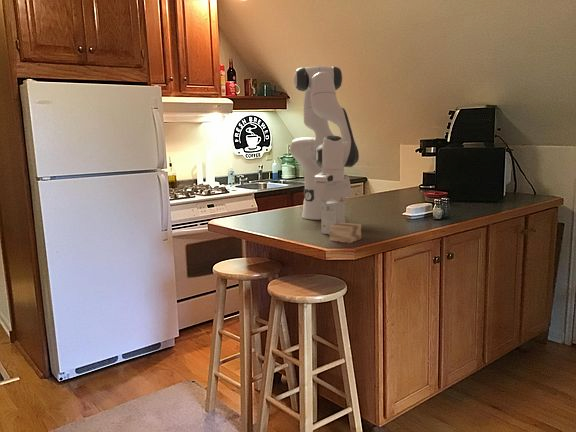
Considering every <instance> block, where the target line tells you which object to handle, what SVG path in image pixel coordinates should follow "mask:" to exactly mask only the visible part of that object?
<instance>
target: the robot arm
mask: <svg viewBox="0 0 576 432" xmlns="http://www.w3.org/2000/svg"><path fill="white" fill-rule="evenodd" d="M343 77H344V76H343V73H342V70H341V68H340V67H337V66H327V65H318V66H317V65H315V66H307V67H306V66H305V67H304V66H303V67H298V68H297V69H296V70H295V72H294V75H293V83H294V86H295V88H296V90H298V91H299V92H300V91H301V92H304V94H303V124H304V126H306V127H307V129H310V130H312V131H313V133H314V134H315V136H301V137H297V138H294V139H293V140H292V141H291V142H290V146H289V152H290V155H291V157H293V159H295V160H296V161H297V162H298V163H299V165H300V166H301V169H302V171H303V179H304V188H303V196H304V199H303V204H302V205H303V206H302V213H301V218H302V219H305V220H321V203H322V206H323V211H328V210H329V209H328V208H329V206H327V204H326V203H327V202H329V201H333V202H337V199H338V200H339V201H338V202H343V203H345V200H346V197H351V194H352V186H351V181H350V176H348V174H345V167H346V168H352V167H354V166H355V165H356V164H357V163H358V161H359V159H360V155H359V154H360V153H359V149H358V146H357V144H356V142H355V138H354V135H353V134H354V133H353V131H352V128H351V127H352V126H351V123H350V119H349V116H348V114H347V110H346V109H345V108H344V107H342V106H341V105H340V103H339V102H338V100H337V99H338V98H337V90H339V89H340V88H341V87H342V83H343ZM329 122H331V123H333V124H335V125H337V127H338V128H339V131H340V134H341V135H340V136H338V135H335V134H334V132H332V130H331V128H330V126H329ZM335 199H336V200H335Z"/></svg>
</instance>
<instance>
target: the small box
mask: <svg viewBox="0 0 576 432" xmlns="http://www.w3.org/2000/svg"><path fill="white" fill-rule="evenodd" d="M326 204H327V206H329V208H328V209H329V210H328V211H323V206H322V203H321V219H320V220H321V221H320V225H321V230H320V232H321V234H324V235H330V226H331V225H334V224H337V223H341V222H345V223H346V202H344V203H343V202H339V201H336V202H333V201H329V202H327V203H326Z"/></svg>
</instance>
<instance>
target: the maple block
mask: <svg viewBox="0 0 576 432" xmlns="http://www.w3.org/2000/svg"><path fill="white" fill-rule="evenodd" d="M361 239H362V224H360V223H351V222H346V221H345V222H341V223H337V224H334V225H331V226H330V234H329V241H331V242H338V241H339V242H341V243H345V242H347V243H348V244H351V243H354V242H356V241H359V240H361ZM353 241H354V242H353ZM339 242H338V243H339ZM347 243H346V244H347Z"/></svg>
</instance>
